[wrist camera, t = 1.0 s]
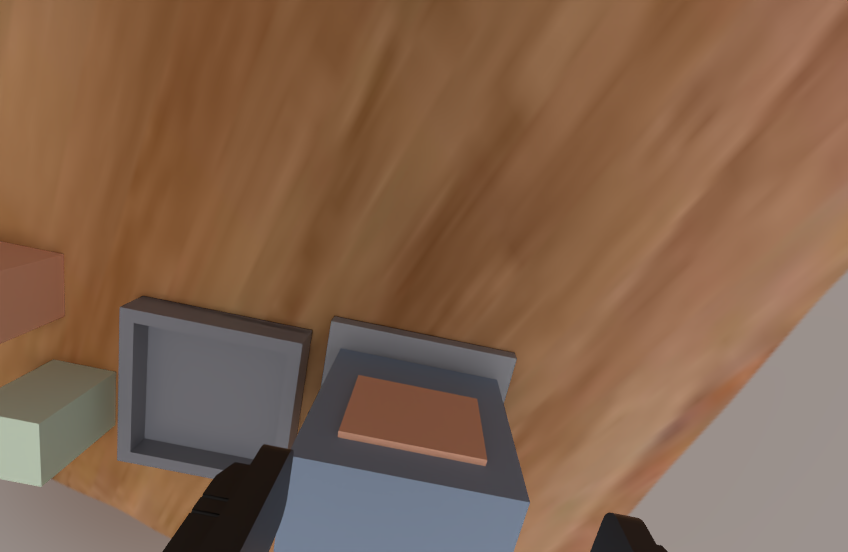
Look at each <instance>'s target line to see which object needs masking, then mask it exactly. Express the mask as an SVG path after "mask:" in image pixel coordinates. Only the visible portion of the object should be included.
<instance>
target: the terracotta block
mask: <svg viewBox="0 0 848 552" xmlns="http://www.w3.org/2000/svg"><path fill="white" fill-rule="evenodd" d="M64 316H65V294H64V254H60V253H55V252H50V251H45V250H41V249H36V248H31V247H26V246H21V245H16V244H11V243H6V242H1V241H0V344H1V343H3V342H5V341H8V340H10V339H12V338H15V337H17V336H19V335H22V334H24V333H26V332H29V331H31V330H33V329H36V328H38V327H40V326H43V325H45V324H47V323H50V322H52V321H54V320H57V319H59V318H61V317H64Z"/></svg>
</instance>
